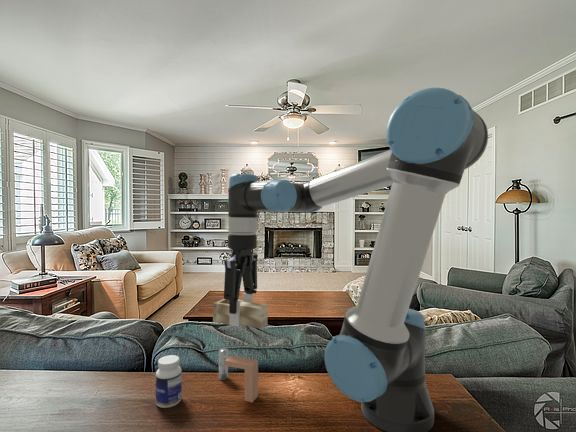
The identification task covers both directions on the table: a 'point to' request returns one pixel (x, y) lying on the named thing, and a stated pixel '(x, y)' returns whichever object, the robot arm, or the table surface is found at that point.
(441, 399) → the table surface
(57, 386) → the table surface
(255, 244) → the robot arm
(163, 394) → the pill bottle
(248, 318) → the link
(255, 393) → the keeper
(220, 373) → the cylinder
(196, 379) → the table surface
